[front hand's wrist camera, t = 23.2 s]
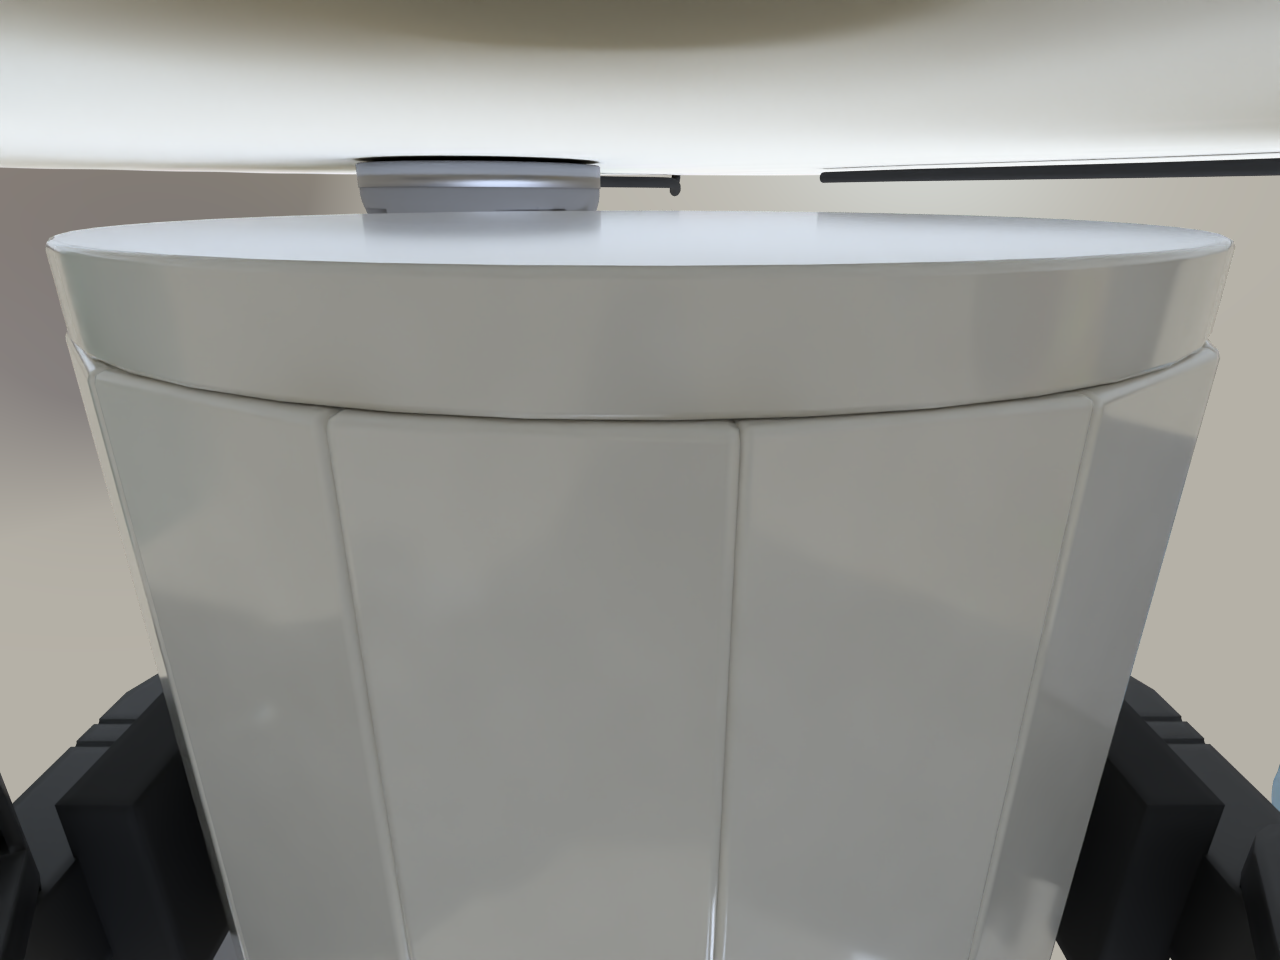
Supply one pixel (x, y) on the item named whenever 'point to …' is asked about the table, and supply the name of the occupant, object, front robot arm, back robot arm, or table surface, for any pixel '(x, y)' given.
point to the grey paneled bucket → (643, 564)
